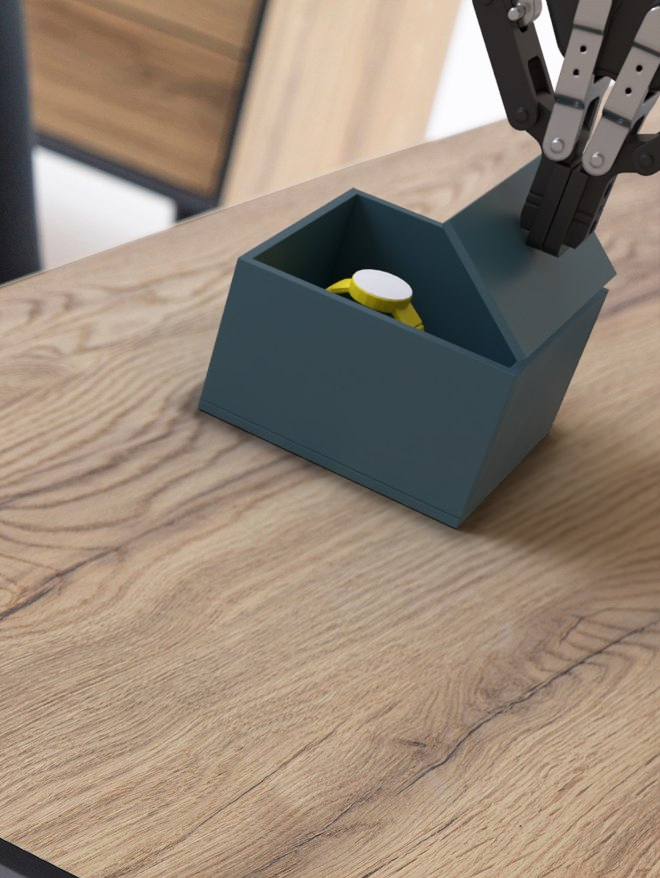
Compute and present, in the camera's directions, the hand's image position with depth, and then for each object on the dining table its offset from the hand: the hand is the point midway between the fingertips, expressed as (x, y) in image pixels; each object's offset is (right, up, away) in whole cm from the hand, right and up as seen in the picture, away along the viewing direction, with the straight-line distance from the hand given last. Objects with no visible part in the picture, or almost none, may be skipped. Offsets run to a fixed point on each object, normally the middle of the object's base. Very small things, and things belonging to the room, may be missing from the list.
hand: (547, 246), depth 73 cm
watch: (-7, -5, +9) cm, 12 cm away
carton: (-5, -6, +8) cm, 12 cm away
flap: (0, 0, +1) cm, 1 cm away
